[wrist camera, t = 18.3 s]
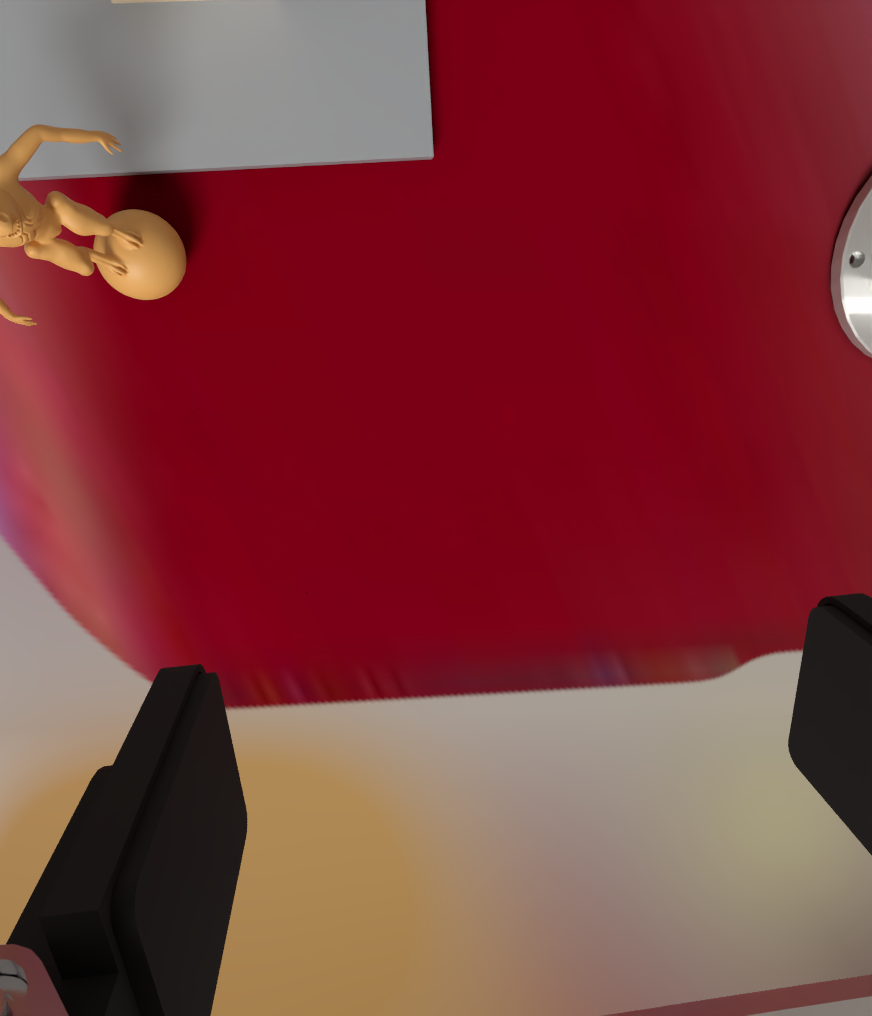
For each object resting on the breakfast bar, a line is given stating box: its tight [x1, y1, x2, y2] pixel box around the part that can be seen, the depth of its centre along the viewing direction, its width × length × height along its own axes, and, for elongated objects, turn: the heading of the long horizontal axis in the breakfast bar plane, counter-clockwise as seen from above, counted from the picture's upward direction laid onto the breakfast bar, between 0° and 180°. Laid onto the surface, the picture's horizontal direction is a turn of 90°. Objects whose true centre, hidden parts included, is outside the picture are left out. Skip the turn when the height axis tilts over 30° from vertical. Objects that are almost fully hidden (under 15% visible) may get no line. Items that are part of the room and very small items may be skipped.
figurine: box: [0, 124, 186, 326], centre depth 27 cm, size 8×6×12 cm
